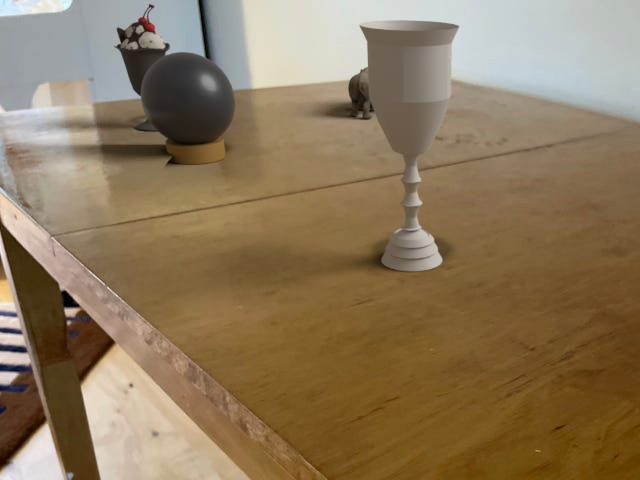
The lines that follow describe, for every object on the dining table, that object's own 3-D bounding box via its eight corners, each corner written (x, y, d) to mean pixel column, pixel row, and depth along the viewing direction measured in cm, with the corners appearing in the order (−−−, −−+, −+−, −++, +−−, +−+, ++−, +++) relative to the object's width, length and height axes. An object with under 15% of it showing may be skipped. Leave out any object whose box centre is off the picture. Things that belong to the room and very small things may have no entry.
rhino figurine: (385, 101, 124) (384, 61, 121) (374, 119, 112) (373, 76, 109) (360, 101, 124) (358, 61, 121) (346, 119, 112) (344, 74, 109)
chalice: (430, 240, 69) (430, 19, 60) (470, 265, 64) (477, 29, 55) (354, 254, 65) (343, 21, 57) (390, 282, 60) (385, 32, 52)
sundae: (189, 129, 103) (170, 5, 96) (135, 134, 100) (113, 6, 93) (175, 120, 108) (156, 1, 101) (123, 124, 105) (101, 2, 97)
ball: (142, 168, 86) (122, 58, 81) (161, 146, 95) (145, 45, 89) (235, 168, 87) (222, 59, 82) (246, 146, 96) (235, 47, 91)
